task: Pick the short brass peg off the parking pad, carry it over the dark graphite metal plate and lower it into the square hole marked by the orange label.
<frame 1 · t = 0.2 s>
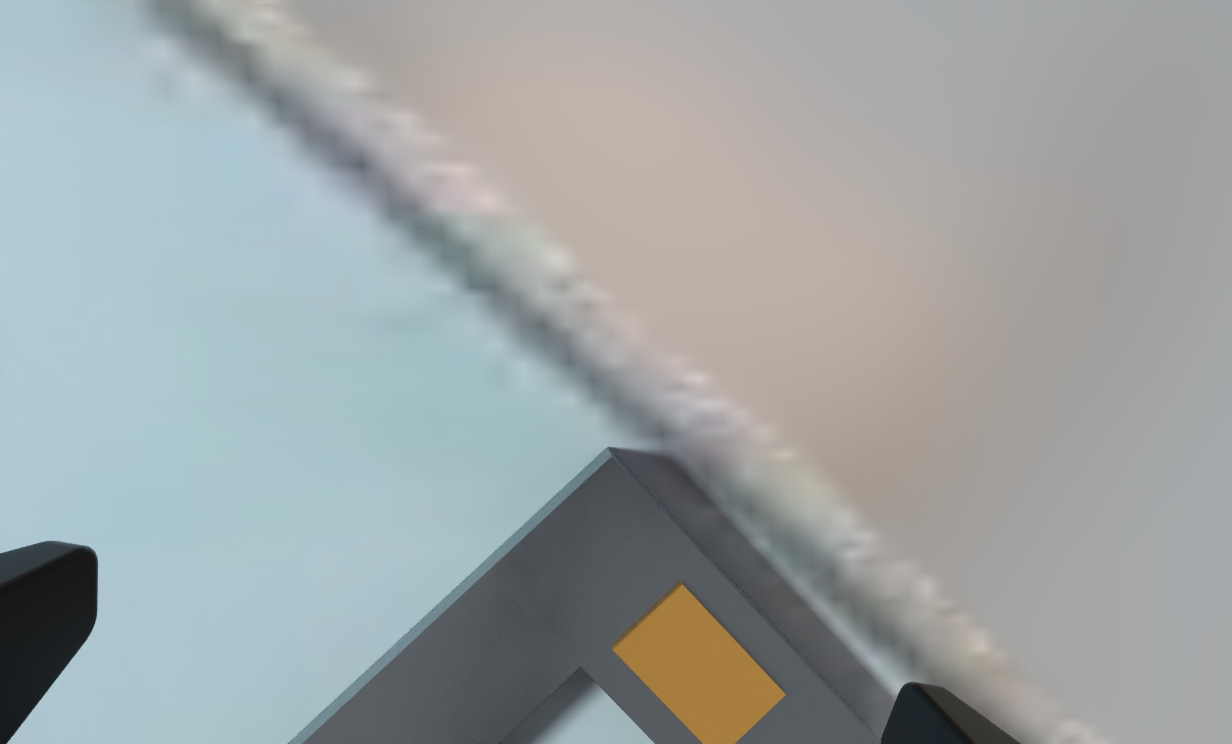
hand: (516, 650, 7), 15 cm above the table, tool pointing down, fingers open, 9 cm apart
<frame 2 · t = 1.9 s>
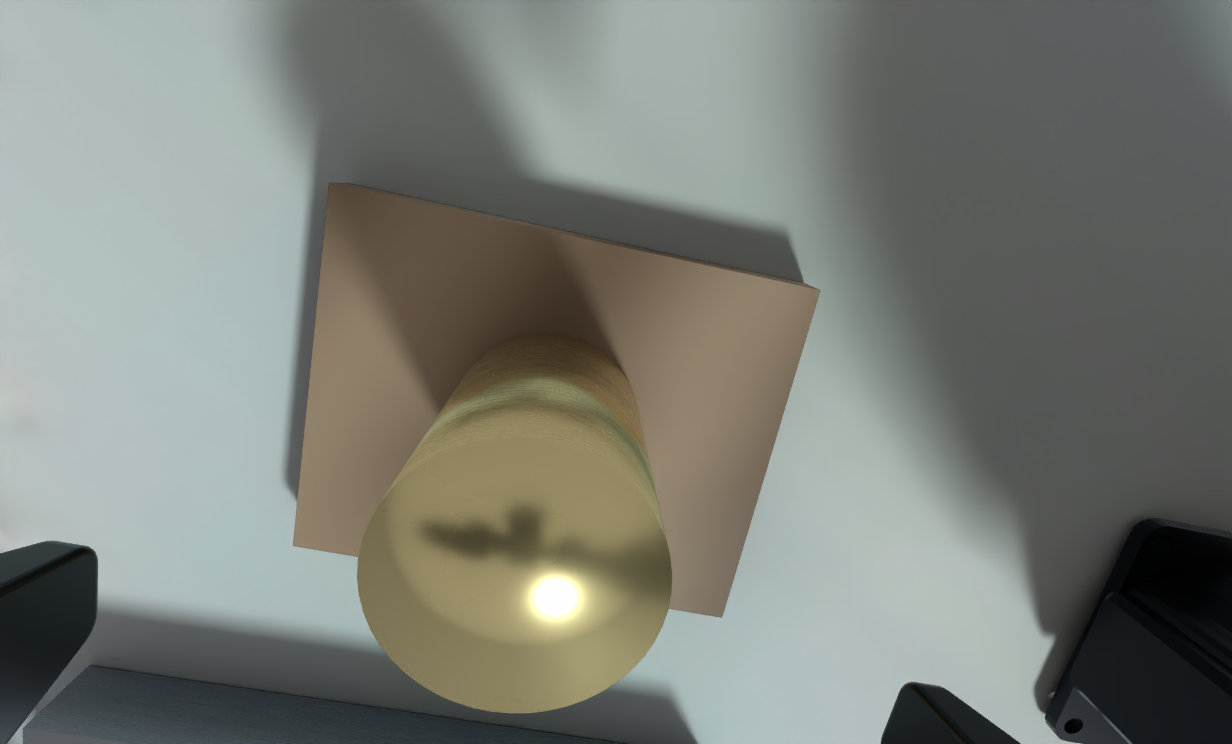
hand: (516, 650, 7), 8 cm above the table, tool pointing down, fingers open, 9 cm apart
parking pad: (549, 408, 15), on the table
brass peg: (546, 423, 14), point 1 cm above the table, touching parking pad
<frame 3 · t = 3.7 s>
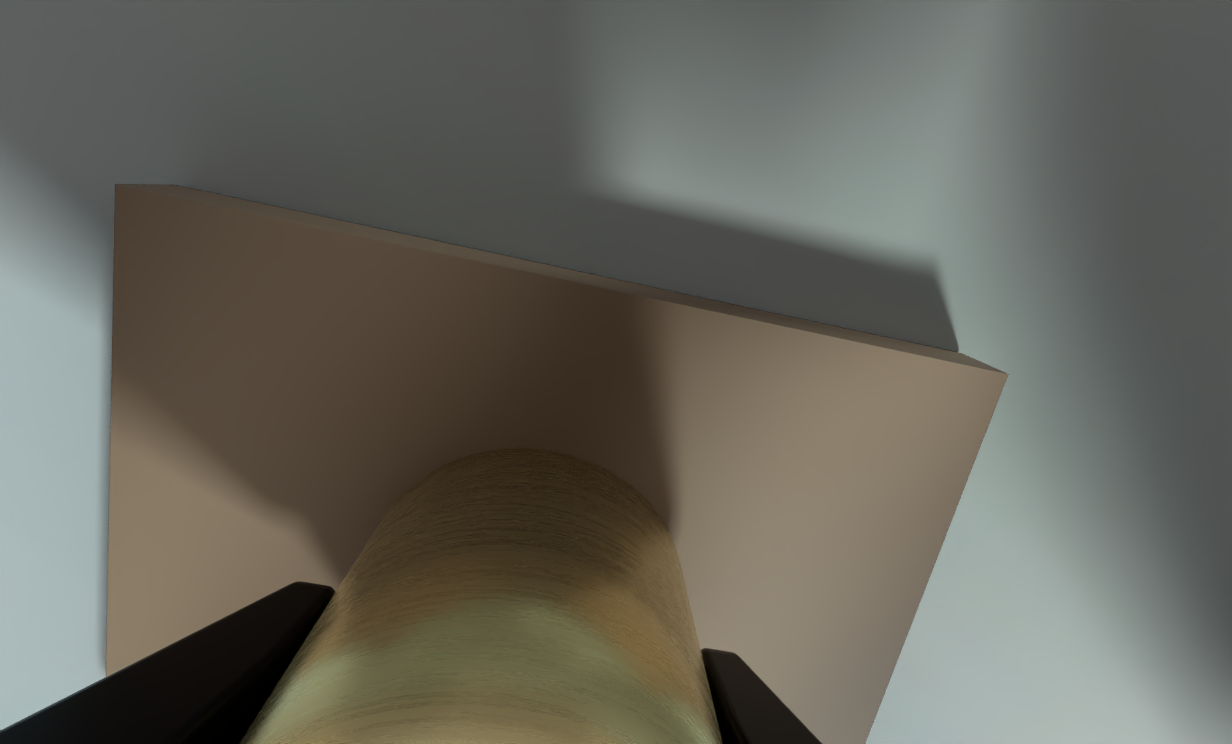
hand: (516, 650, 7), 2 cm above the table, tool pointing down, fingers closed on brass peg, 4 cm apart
parking pad: (531, 553, 9), on the table
brass peg: (524, 596, 8), point 1 cm above the table, touching gripper, parking pad
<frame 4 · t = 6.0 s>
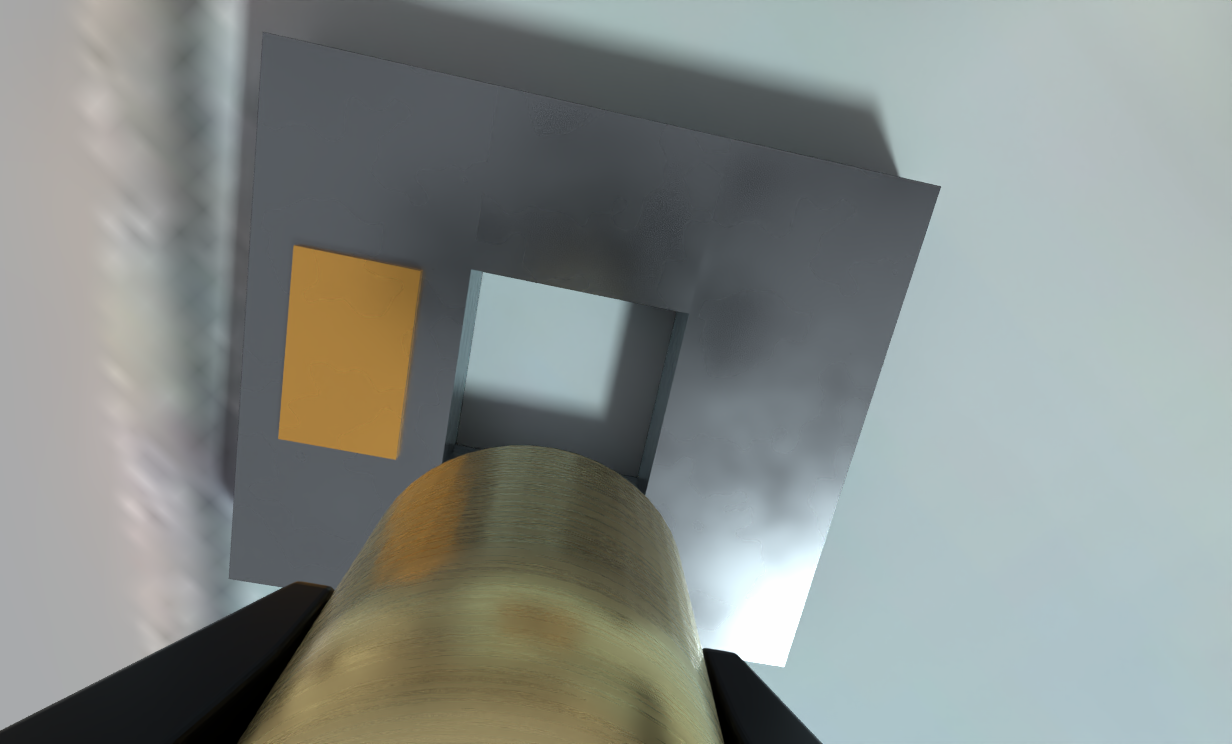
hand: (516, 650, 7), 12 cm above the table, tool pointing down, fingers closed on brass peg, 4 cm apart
hole plate: (564, 374, 19), on the table
brass peg: (525, 593, 8), point 11 cm above the table, touching gripper
when the fingers open (3 cm above the table, at t = 8.4 s): brass peg drops 2 cm, resting in hole plate.
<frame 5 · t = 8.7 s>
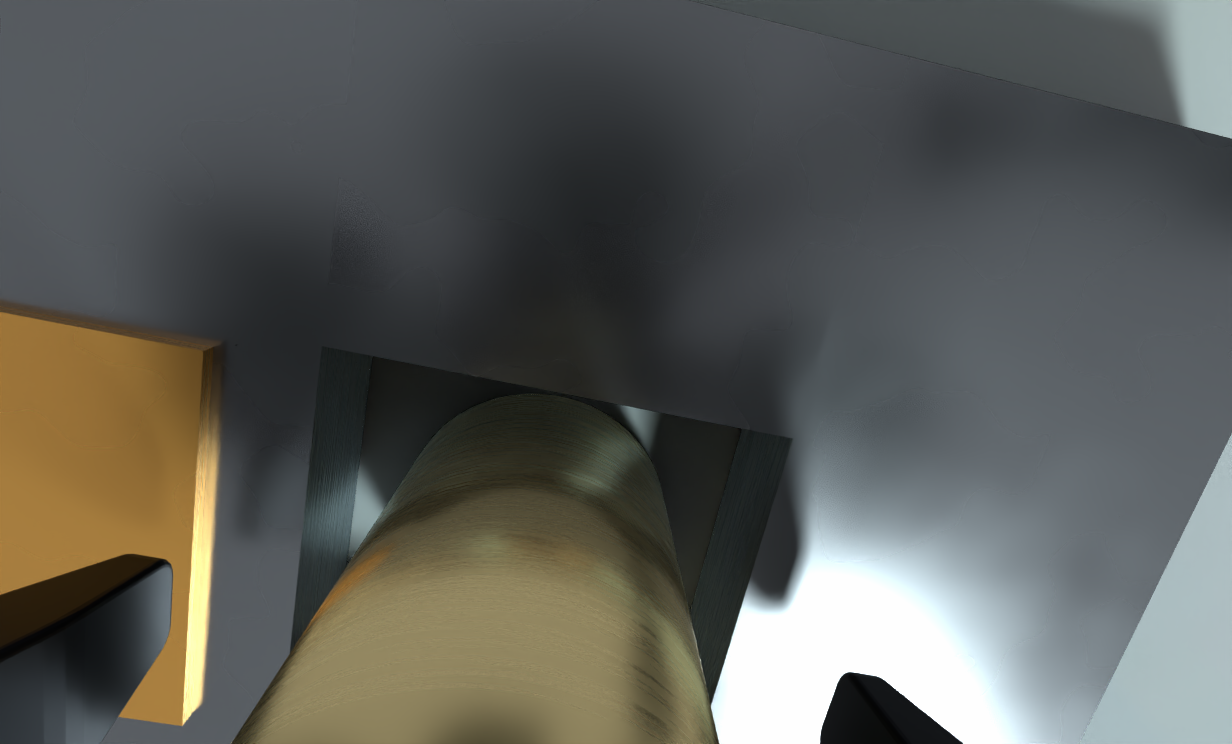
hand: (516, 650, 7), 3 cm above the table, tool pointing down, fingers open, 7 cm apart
hole plate: (535, 521, 10), on the table
brass peg: (535, 516, 10), resting in hole plate
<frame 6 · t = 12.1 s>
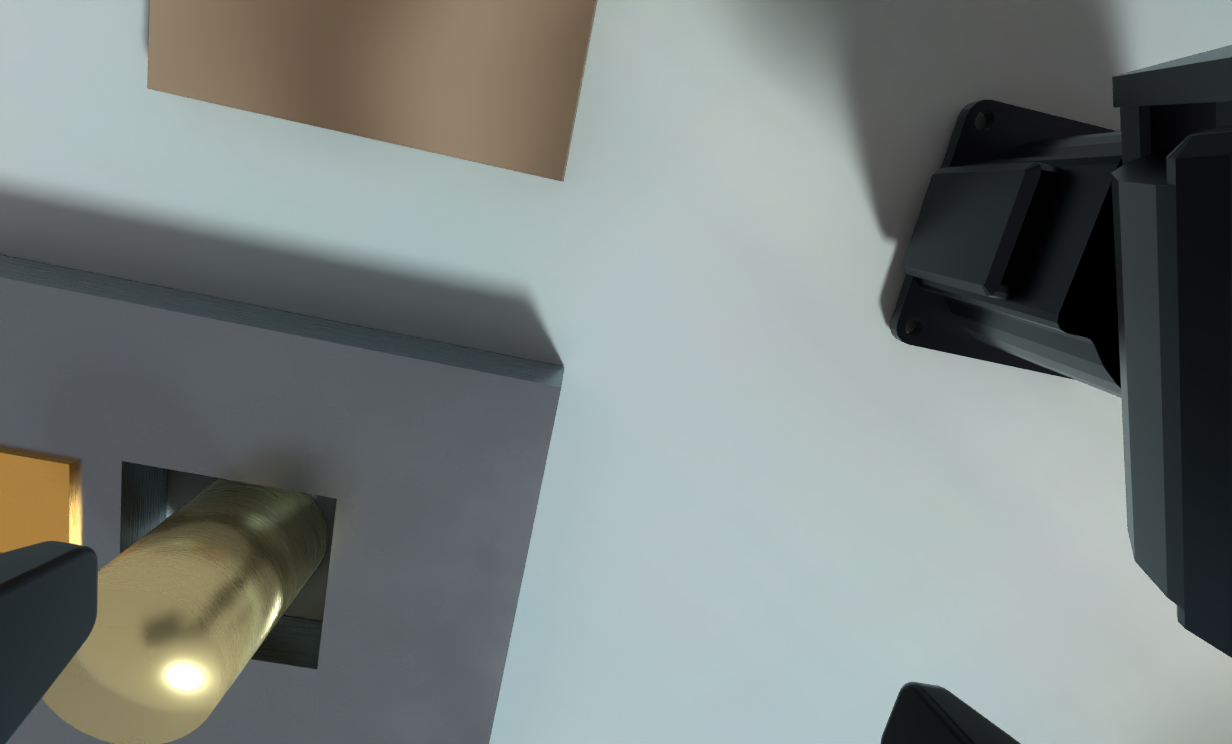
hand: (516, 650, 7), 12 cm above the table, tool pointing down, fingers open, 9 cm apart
hole plate: (260, 533, 20), on the table
brass peg: (260, 531, 20), resting in hole plate
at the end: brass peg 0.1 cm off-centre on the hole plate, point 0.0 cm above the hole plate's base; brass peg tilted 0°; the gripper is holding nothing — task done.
